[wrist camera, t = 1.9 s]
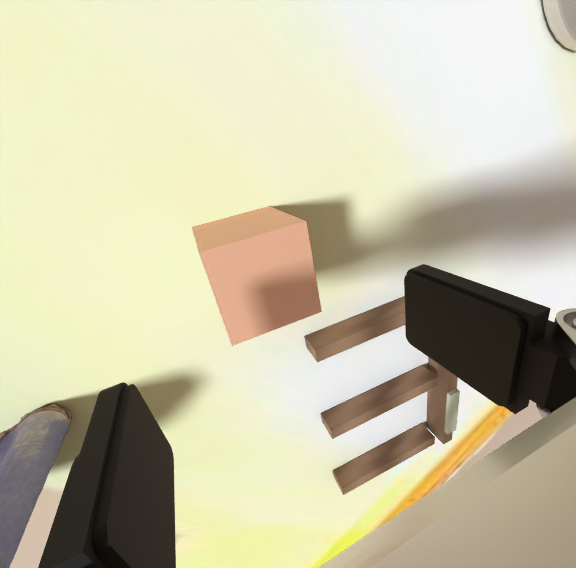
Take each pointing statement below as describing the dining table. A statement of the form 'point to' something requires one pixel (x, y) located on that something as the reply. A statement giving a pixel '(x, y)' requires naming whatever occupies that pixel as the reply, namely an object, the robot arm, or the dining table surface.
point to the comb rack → (385, 396)
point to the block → (259, 271)
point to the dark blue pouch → (26, 471)
